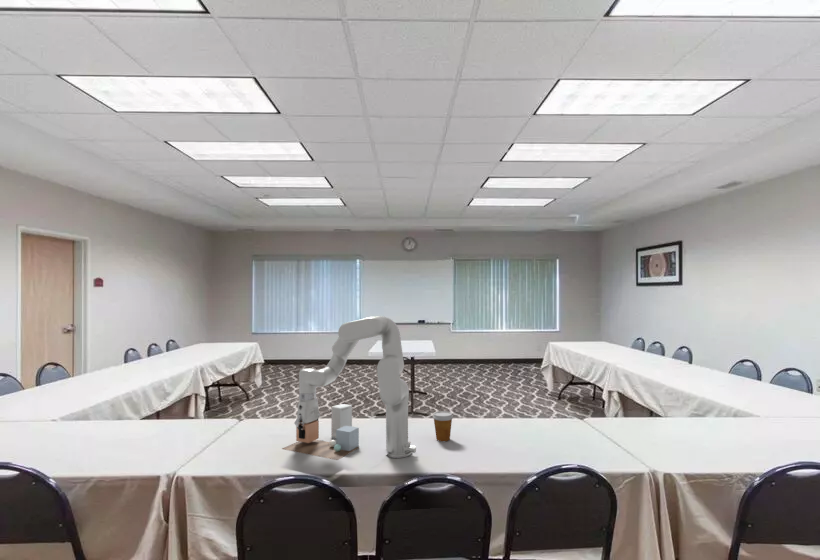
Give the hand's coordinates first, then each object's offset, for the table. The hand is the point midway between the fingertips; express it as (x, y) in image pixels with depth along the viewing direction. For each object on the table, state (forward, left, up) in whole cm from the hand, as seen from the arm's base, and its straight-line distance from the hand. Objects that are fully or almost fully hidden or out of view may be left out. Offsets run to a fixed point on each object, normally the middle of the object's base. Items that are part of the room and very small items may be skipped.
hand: (307, 435), depth 189 cm
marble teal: (-20, +2, -2) cm, 20 cm away
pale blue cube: (-20, -3, -3) cm, 20 cm away
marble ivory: (-14, -2, -1) cm, 14 cm away
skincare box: (-8, -15, -5) cm, 18 cm away
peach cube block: (0, 0, -2) cm, 2 cm away
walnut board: (-10, +3, -5) cm, 11 cm away
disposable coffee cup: (-52, -35, -5) cm, 63 cm away
